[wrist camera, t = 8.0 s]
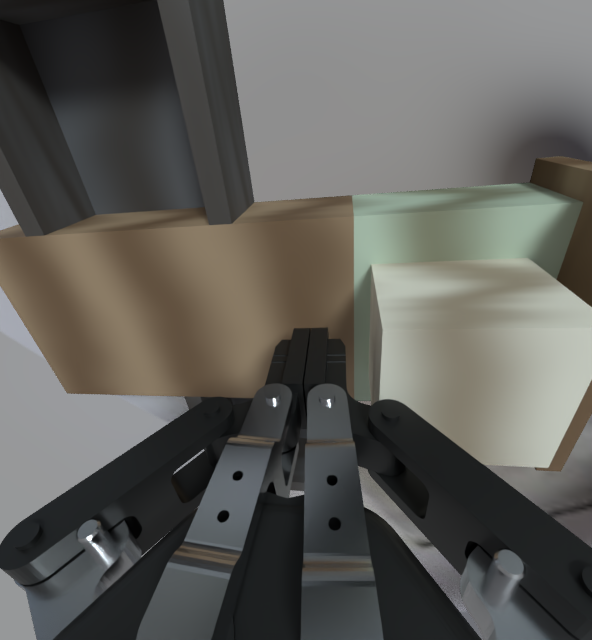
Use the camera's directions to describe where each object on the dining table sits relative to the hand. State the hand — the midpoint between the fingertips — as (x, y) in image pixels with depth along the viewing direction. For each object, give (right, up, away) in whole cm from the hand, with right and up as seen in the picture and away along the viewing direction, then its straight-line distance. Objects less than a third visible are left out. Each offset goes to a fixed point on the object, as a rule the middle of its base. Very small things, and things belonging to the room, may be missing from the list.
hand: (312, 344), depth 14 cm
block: (+6, +1, 0) cm, 6 cm away
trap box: (-2, +3, +5) cm, 6 cm away
